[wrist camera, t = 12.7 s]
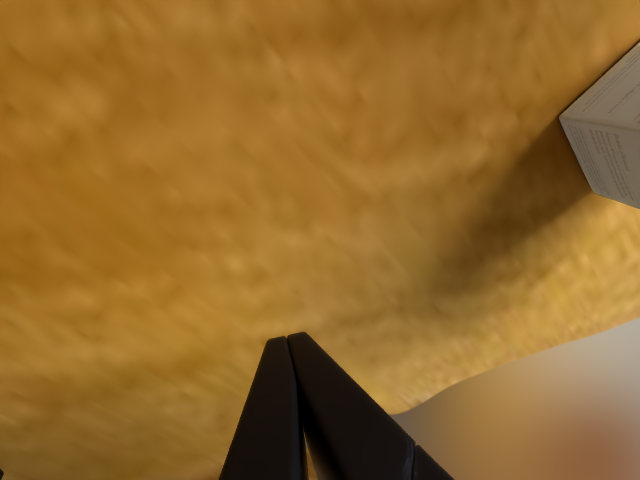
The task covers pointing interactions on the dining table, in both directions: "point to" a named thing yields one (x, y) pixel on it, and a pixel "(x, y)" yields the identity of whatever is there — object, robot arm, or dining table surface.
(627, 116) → the white packaging box
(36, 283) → the dining table surface
